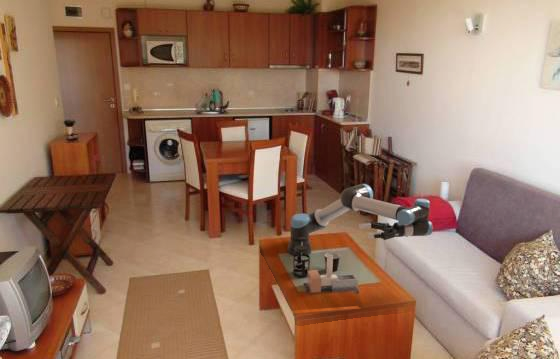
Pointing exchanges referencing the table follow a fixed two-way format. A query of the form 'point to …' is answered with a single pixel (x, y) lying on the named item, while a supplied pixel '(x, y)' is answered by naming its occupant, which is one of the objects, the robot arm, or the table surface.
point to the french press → (301, 263)
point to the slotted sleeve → (339, 285)
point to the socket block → (314, 281)
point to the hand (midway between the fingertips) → (363, 231)
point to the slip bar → (328, 272)
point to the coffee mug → (335, 261)
